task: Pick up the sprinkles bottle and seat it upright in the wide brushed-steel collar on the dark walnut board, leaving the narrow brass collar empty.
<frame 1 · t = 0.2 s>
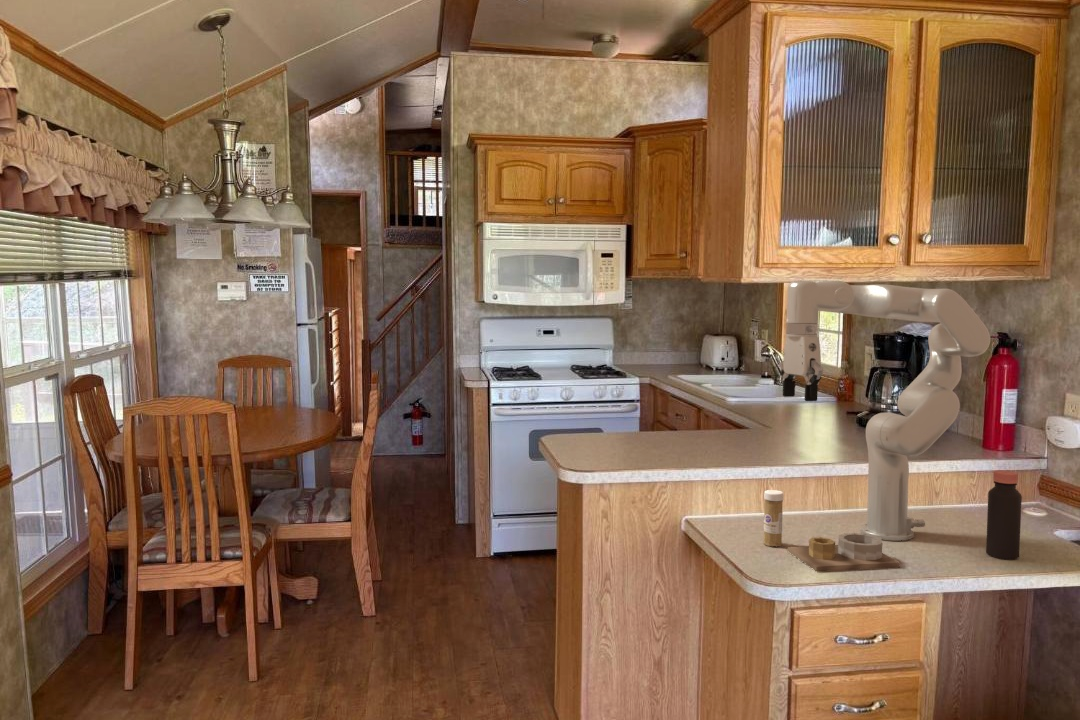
hand: (799, 398, 193), 36 cm above the worktop, tool pointing down, fingers open, 9 cm apart
fitting board: (841, 559, 179), on the worktop
vinegar: (1002, 556, 182), on the worktop
sprinkles bottle: (772, 545, 191), on the worktop
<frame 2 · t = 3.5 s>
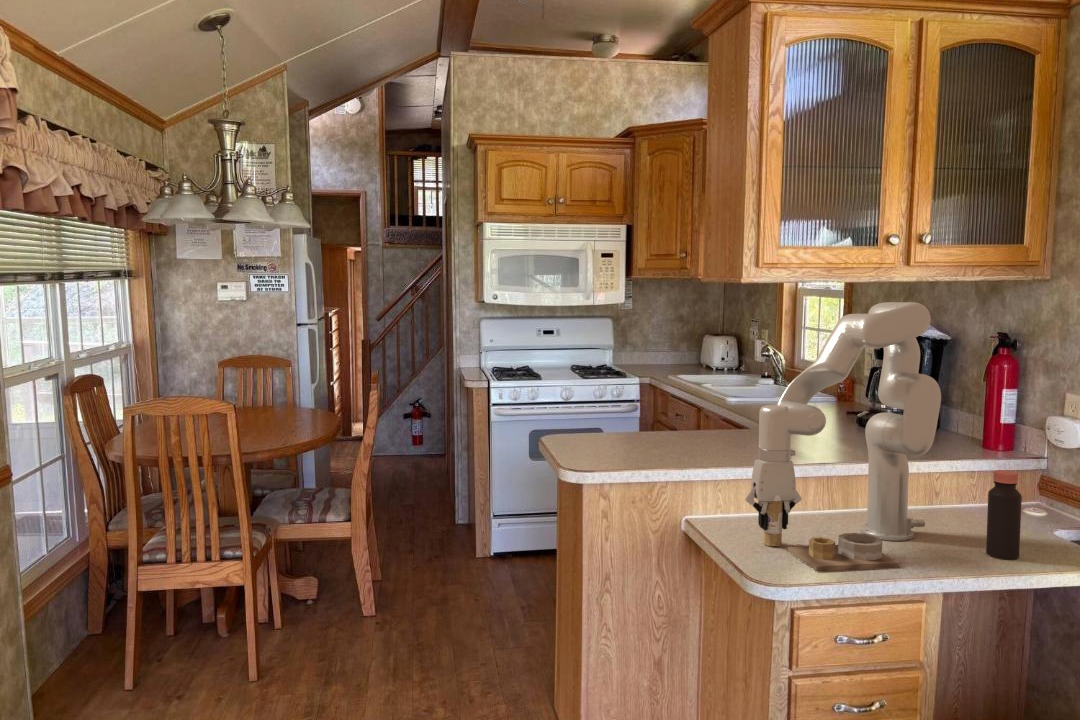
hand: (773, 527, 190), 4 cm above the worktop, tool pointing down, fingers closed on sprinkles bottle, 4 cm apart
sprinkles bottle: (772, 545, 191), on the worktop, touching gripper
everything else where it was.
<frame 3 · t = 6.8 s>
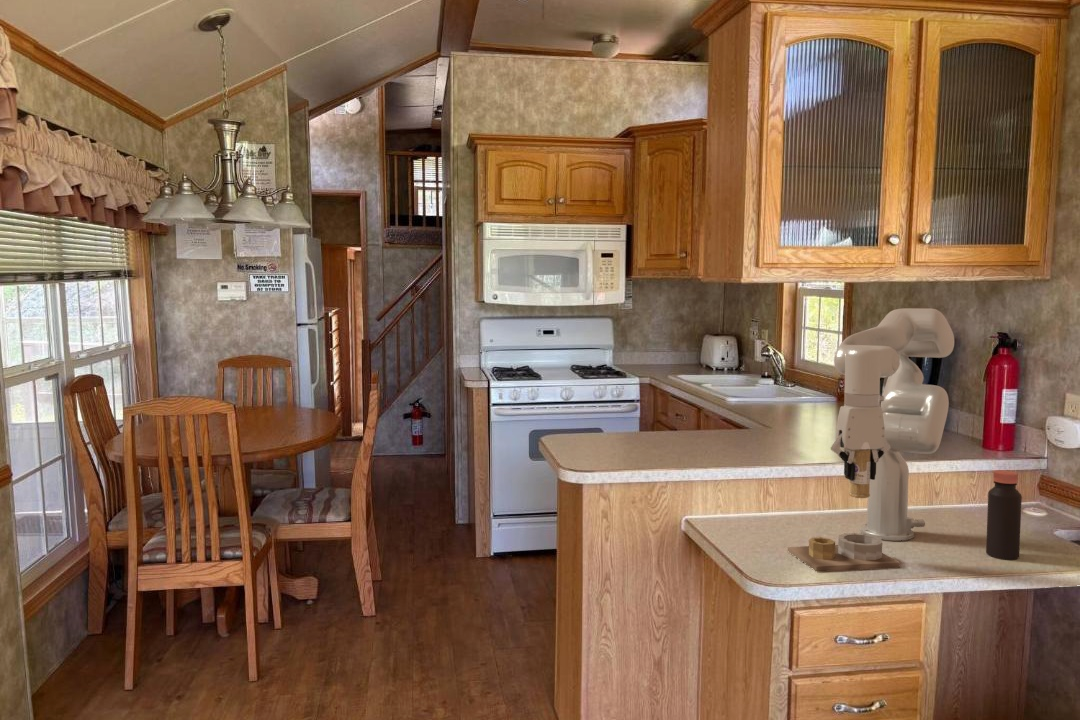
hand: (859, 478, 179), 19 cm above the worktop, tool pointing down, fingers closed on sprinkles bottle, 4 cm apart
sprinkles bottle: (859, 497, 179), point 15 cm above the worktop, touching gripper
everything else where it was.
when the fingers open (7 cm above the worktop, at t = 10.2 s): sprinkles bottle drops 1 cm, resting on fitting board.
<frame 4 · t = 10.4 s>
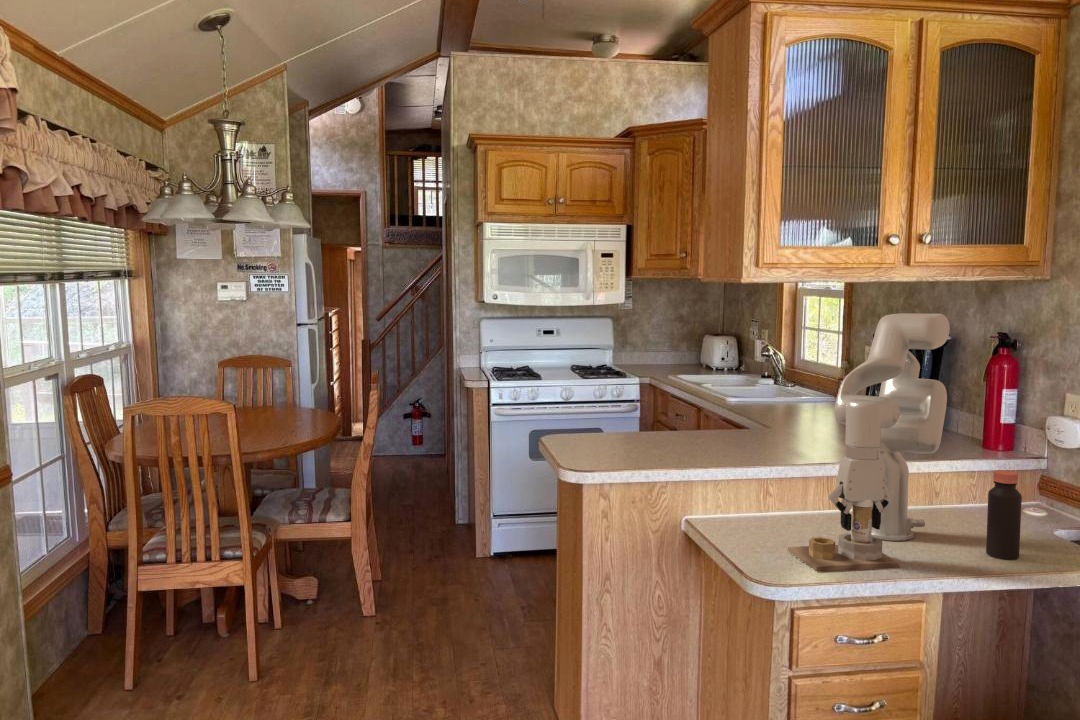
hand: (860, 527, 179), 7 cm above the worktop, tool pointing down, fingers open, 6 cm apart
sprinkles bottle: (860, 554, 180), point 1 cm above the worktop, touching fitting board
everything else where it was.
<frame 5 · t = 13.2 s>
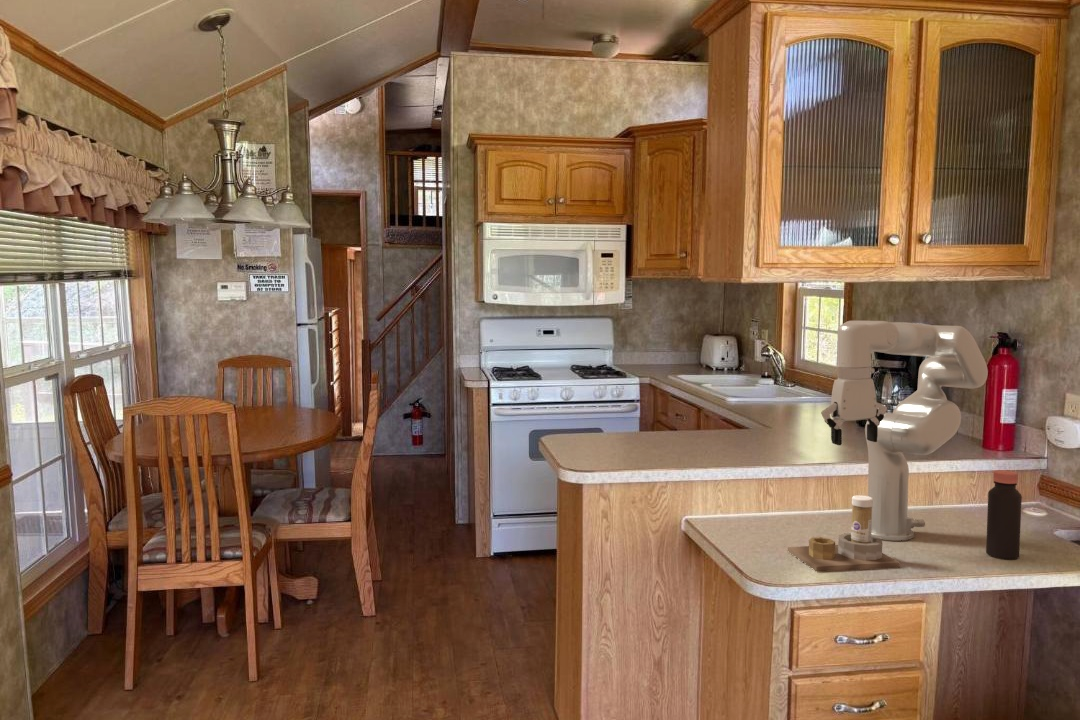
hand: (854, 442, 189), 26 cm above the worktop, tool pointing down, fingers open, 9 cm apart
nothing on the worktop moved.
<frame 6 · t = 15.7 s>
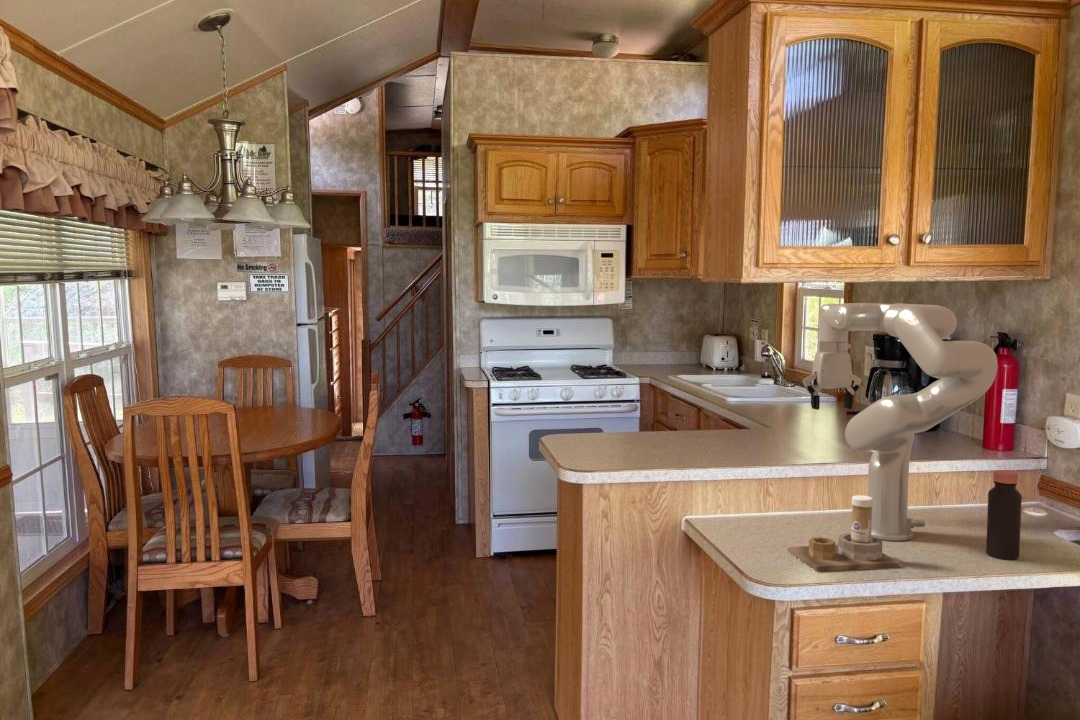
hand: (831, 408, 216), 30 cm above the worktop, tool pointing down, fingers open, 9 cm apart
nothing on the worktop moved.
at the end: sprinkles bottle 0.3 cm from the target spot on the fitting board, point 1.0 cm above the fitting board's base; sprinkles bottle tilted 0°; the gripper is holding nothing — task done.
